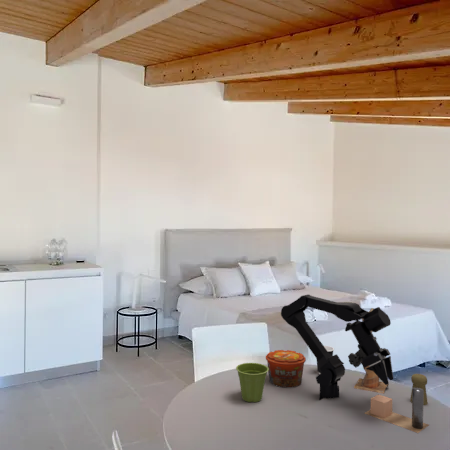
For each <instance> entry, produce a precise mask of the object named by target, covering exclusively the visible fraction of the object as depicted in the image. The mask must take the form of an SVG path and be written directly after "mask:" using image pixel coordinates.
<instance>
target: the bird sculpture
mask: <svg viewBox="0 0 450 450" xmlns="http://www.w3.org/2000/svg"><path fill="white" fill-rule="evenodd" d="M373 309H374V308H373V307H371V308H370V309H369V311H368V312H371V311H372V310H373ZM362 321H364V319H361V322H362ZM371 332H372V333H374V332H373V331H371ZM368 367H369V366H367V367H365V368H364V367H363V366H362V369H363V370H364V371H365V375H364V376H363V378H360V377H359V379H358V380H357V381H356V383H355V384H354V386H353V388H354V389H355V390H360V391H361V390H362V391H367V392H372V393H376V394H377V393H378V394H385V391H386V388H389V384H390V383H389V384H387V385H385V384H384V383H383V382H382V381H380V378H379V377H378V376H377V375H376V374H375V373H374V372H373V371H371V370H367V369H366V368H368Z"/></svg>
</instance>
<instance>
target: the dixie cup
mask: <svg viewBox="0 0 450 450" xmlns="http://www.w3.org/2000/svg"><path fill="white" fill-rule="evenodd" d="M323 346H324V347H325V349H326V350H327V351H328V353H329V354H331V355H333V356H334V350H335V348H334V347H333V346H330V345H323ZM315 358H316V357H315ZM316 367H317V368H316V369H317V372H318V373H317V374H318V375H319V374H321V371H320V369H319V363H318V360H317V358H316Z"/></svg>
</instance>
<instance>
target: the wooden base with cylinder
mask: <svg viewBox="0 0 450 450" xmlns="http://www.w3.org/2000/svg"><path fill="white" fill-rule="evenodd" d="M411 392H412V403H411V417H408V416H405V415H402V414H400V413H396V412H394V411H392V414H391V415H390V416H388V417H386V418H382V417H379V416H376V415H374V414H371V409H369V410H367V411H365V412H364V413H363V414H365V415H368V416H370V417H373V418H376V419H379V420H381V421H383V422H386V423H389V424H393V425H395V426H398V427H400V428H402V429H405V430H409V431H410V432H411V431H412V432H414V433H416V434H419V433H420V432H422V431H423V430H425V429H426V428H427V427H429V426H430V424H428V423H426V422H424V405H423V400H424V390H423V389H421V388H412V387H411Z"/></svg>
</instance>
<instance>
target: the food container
mask: <svg viewBox="0 0 450 450" xmlns="http://www.w3.org/2000/svg"><path fill="white" fill-rule="evenodd" d="M306 360H307V359H306V357H305V355H304V354H302V353H301V352H296V351H295V350H289V349H287V350H284V349H277V350H274V351H269V352H268V353H267V354H266V355H265V361H266V362H267V367H268V368H269V370H268V372H267V373H268V381H269V383H270V384H272V385H273V384H274V385H273V386H276V385H277V386H276V387H279V386H280V387H279V388H296V387H298V386H301V385H302V380H303V375H304V374H303V372H304V366H305V362H306Z"/></svg>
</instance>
